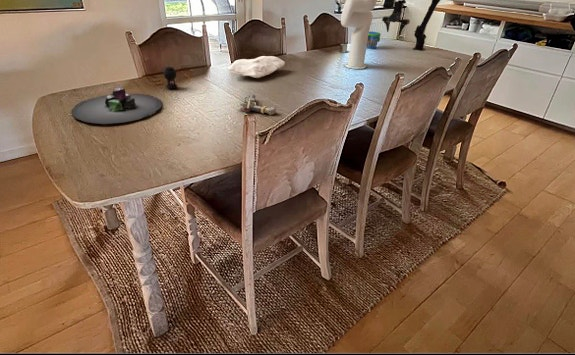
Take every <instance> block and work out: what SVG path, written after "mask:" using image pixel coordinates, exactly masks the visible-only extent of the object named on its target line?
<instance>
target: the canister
mask: <svg viewBox="0 0 575 355" xmlns="http://www.w3.org/2000/svg"><path fill="white" fill-rule="evenodd" d="M339 46H340V47H339V52H340V53H342V54H344V53H345V54H346V53H347V51H348V44H347V43H341V44H340V45H339Z"/></svg>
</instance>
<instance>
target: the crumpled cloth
mask: <svg viewBox="0 0 575 355" xmlns="http://www.w3.org/2000/svg"><path fill="white" fill-rule="evenodd" d="M285 64H286V62H285V61H284V60H282V59H281V58H280V57H277V56H274V55H267V56H266V55H262V56H258V57H255V58H250V59H249V58H248V59H247V58H241V59H236V60H234V61H233V63H232V64H230V65H229V66H228V67H227V69H228V71H229V72H231V73H233V74H235V75H236V74H237V75H240V76H243V77H250V78H256V79H260V78H261V77H262V78H263V77H265V76H268V75H270V74H272V73H274V72H275V71H277V70H279V69H281V68H283V67H284V66H285Z"/></svg>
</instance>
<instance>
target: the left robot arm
mask: <svg viewBox="0 0 575 355" xmlns="http://www.w3.org/2000/svg"><path fill="white" fill-rule="evenodd" d="M334 1H335V4H336V5H337V12H338V14H340V24H341V26H342V27H343V28H349V29H350V28H353V29H354V30H353V31H352V33H351V36H350V43H349V52H348V59H347V62H345V64H344V66H345V67H346V68H348V69H352V70H364V69H366V68H367V64H366V63H365V59H366V52H367V48H366V47H367V40H368V34H369V32H370V29H371V26H372V22H373V19H374V18H373V17H374V16H373V15H374V14H373V13H372V11H373V10H374V8H375V7H376V5H377V2H378V0H334ZM343 4H344V5H343ZM342 5H343V7H342ZM342 8H343V9H342Z"/></svg>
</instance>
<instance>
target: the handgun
mask: <svg viewBox="0 0 575 355" xmlns="http://www.w3.org/2000/svg"><path fill="white" fill-rule="evenodd" d="M239 106H240V108H239V109H240V111H243V112H244V113H250V112H256V113H261V114H264V113H266V114H268V115H270V116H272V115H275V113H276V111H277V108H276V107H275V106H271V107H268V106H267V105H257V102H256V94H253V93H246V94H245V95H244V103H240V105H239Z"/></svg>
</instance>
